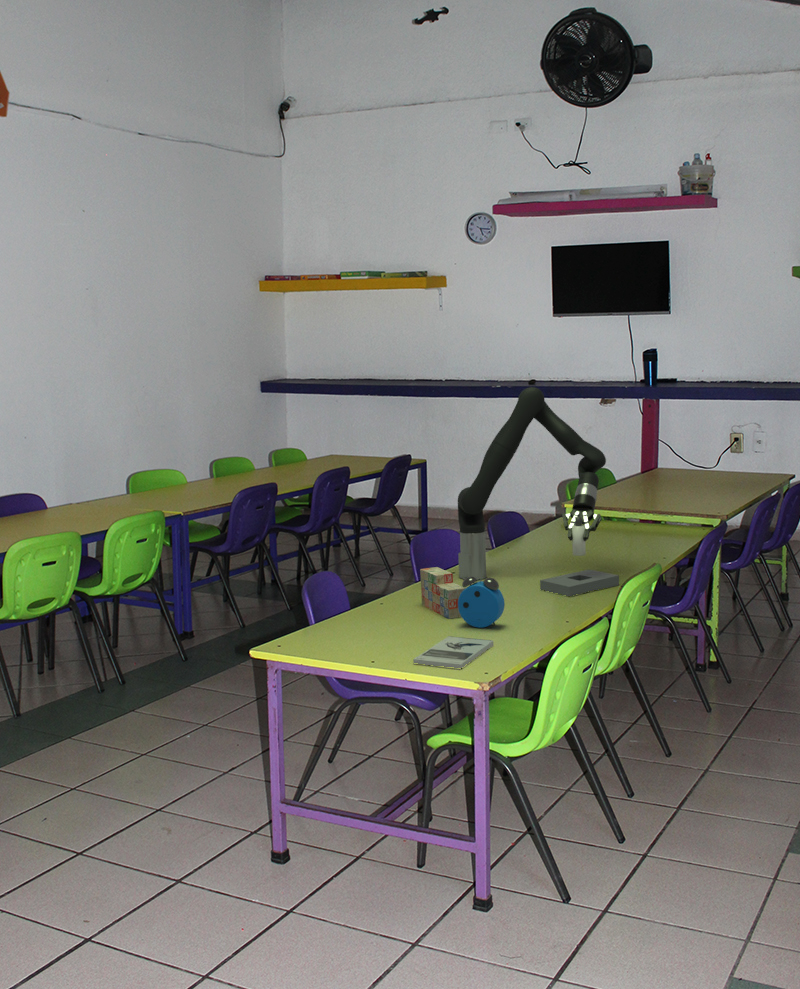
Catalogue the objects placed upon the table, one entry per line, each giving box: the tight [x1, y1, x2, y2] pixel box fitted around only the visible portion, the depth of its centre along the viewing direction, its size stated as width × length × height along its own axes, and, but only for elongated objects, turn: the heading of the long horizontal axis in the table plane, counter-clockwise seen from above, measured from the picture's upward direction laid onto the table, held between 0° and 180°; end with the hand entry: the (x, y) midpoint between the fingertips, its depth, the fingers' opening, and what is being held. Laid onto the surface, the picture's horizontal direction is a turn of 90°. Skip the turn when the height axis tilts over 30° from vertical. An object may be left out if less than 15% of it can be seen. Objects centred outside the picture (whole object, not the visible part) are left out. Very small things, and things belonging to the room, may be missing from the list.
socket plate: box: [539, 568, 620, 597], centre depth 341 cm, size 24×14×4 cm, turn 125°
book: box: [412, 635, 494, 668], centre depth 271 cm, size 23×14×2 cm, turn 153°
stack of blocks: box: [419, 566, 466, 619], centre depth 318 cm, size 21×6×12 cm, turn 22°
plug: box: [571, 517, 587, 557], centre depth 340 cm, size 4×4×13 cm
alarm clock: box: [458, 577, 505, 629], centre depth 297 cm, size 13×6×15 cm, turn 65°
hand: (577, 539), depth 338 cm, fingers closed on plug, 4 cm apart
